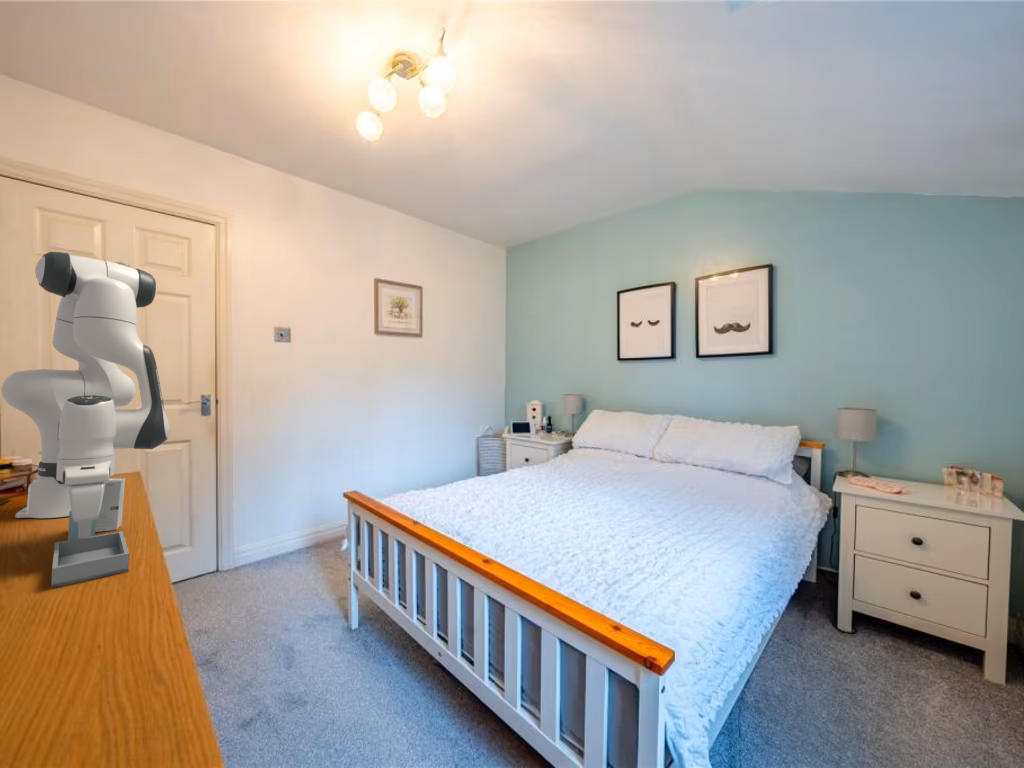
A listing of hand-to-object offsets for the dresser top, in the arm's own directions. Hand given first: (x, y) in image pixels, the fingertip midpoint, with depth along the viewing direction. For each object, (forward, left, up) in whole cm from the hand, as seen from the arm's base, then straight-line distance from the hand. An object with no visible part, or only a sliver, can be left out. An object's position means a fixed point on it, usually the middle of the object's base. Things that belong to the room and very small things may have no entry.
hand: (83, 532), depth 89 cm
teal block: (-1, 0, -4) cm, 4 cm away
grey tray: (+12, +1, -4) cm, 13 cm away
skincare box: (-13, +4, -4) cm, 14 cm away
